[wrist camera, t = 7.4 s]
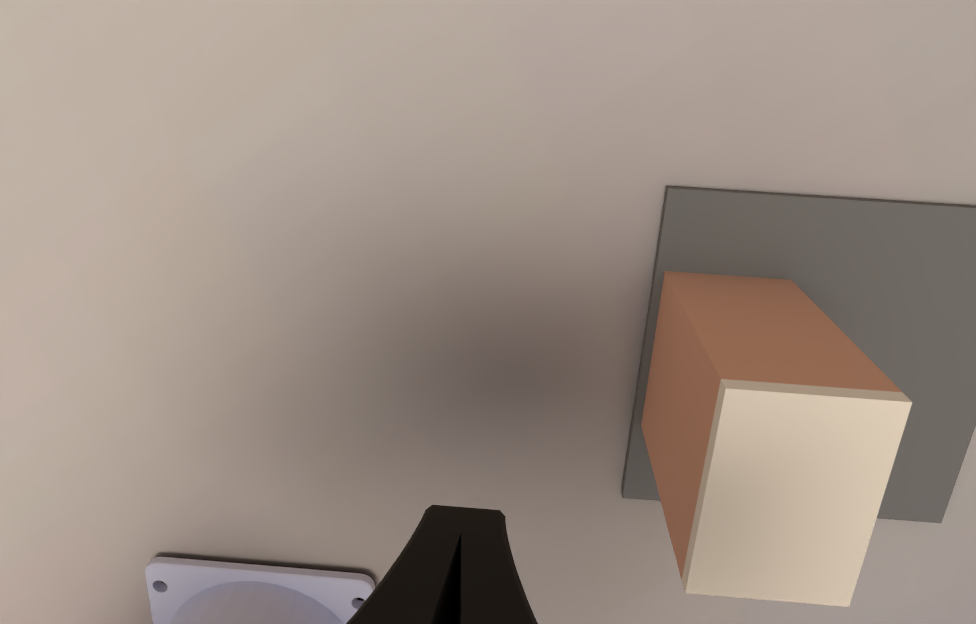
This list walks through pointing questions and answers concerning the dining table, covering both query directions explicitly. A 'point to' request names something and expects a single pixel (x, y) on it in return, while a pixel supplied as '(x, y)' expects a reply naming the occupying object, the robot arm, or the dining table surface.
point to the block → (766, 439)
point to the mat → (847, 309)
